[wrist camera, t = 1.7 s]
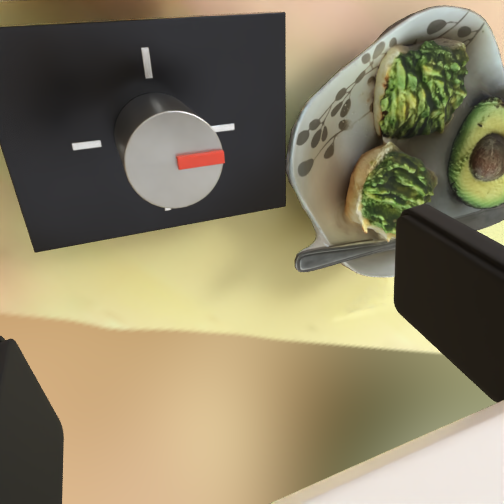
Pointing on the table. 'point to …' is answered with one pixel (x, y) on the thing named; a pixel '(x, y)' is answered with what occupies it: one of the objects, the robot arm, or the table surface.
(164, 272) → the table surface
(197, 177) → the stove knob
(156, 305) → the table surface
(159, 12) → the table surface
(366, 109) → the salad plate
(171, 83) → the hob panel
